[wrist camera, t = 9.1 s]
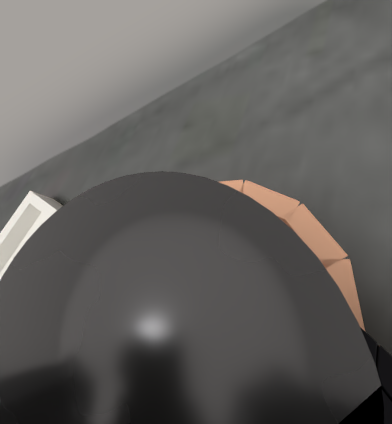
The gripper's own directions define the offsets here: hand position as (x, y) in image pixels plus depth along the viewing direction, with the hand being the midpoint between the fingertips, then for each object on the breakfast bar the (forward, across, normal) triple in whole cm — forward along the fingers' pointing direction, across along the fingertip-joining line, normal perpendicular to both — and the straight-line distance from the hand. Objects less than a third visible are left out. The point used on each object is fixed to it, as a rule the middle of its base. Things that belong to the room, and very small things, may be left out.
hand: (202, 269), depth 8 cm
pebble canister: (+3, 0, +5) cm, 6 cm away
